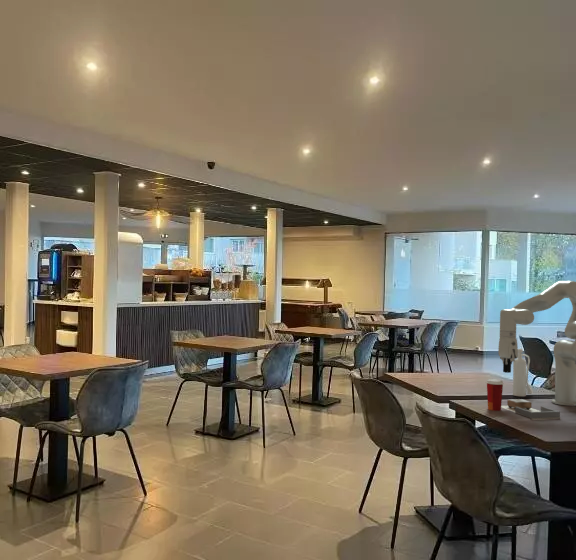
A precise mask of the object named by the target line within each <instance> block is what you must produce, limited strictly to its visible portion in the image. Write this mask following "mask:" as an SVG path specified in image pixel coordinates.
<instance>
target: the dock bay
mask: <svg viewBox="0 0 576 560" xmlns="http://www.w3.org/2000/svg"><path fill="white" fill-rule="evenodd" d="M501 409H505V410H507V411H510V412H512V413H515V414H518V415H521V416H523V417H527V418H529V419H536V420H551V419H552V420H553V419H556V420H557V419H558V420H559V419H561V412H560V411H558V410H556V409H552V408H549V407H546V406H544V405H542V406H540V410H539V409H535V408H530V409H529V410H527V409H526V408H519V407H515V408H514V407H512V408H509V407H508V405H501Z"/></svg>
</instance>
